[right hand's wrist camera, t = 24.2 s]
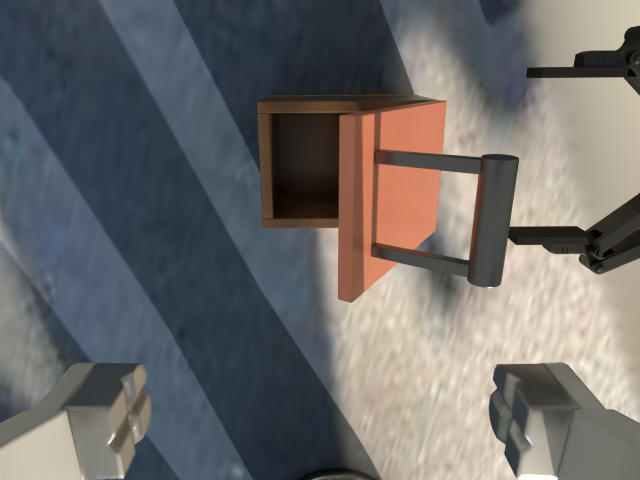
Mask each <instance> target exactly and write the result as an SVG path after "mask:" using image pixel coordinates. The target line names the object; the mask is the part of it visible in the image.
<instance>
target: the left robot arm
mask: <svg viewBox="0 0 640 480" xmlns="http://www.w3.org/2000/svg"><path fill="white" fill-rule="evenodd" d="M624 39H625V41H624V43H623V45H622V46H621V47H620V48H619V49H618V50H616V51H584V52H580V53H578V54H576V56H575V61H574V67H538V68H527V75H526V78H587V77H623V78H624V79H625V80H626V81H627V82H628V83H629V84H630V85H631V86H632V87H633V89H634V90H635V91H636V92H637V93H638V94H639V95H640V26H636V27H631V28H629V29H628V30H627V31H626V33H625V35H624ZM639 228H640V193H639V194H638V195H636V196H635V197H634V198H632V199H631V200H629V201H628V202H626V203H625V204H624V205H622V206H621V207H619V208H618V209H616V210H615V211H613V212H612V213H611V214H609V215H608V216H606V217H605V218H603V219H602V220H601V221H599V222H598V223H596V224H595V225H593V226H592V227H590V228H589V229H588V230H586V231H584V230H582V229H580V228H579V227H577V226H547V227H509V233H508V238H509V239H510V240H511V241H512V242H513V243H515V244H516V245H543V247H544V248H545V249H546V250H548V251H549V252H551V253H553V254H580V257H579V261H580V263H582V264H583V265H584V266H586V267H587V268H588V269H590V270H591V271H593V272H594V273H595V274H599V275H600V274H603V273H605V272H608V271H610V270H613V269H615V268H617V267H620V266H622V265H624V264H627V263H629V262H632V261H634V260H636V259H639V258H640V229H639ZM637 229H638V230H637ZM299 480H375V479H373V478H371V477H369V476H367V475H365V474H362V473H359V472H356V471H351V470H344V469H330V470H323V471H318V472H315V473H312V474H309V475H307V476H305V477H303V478H301V479H299Z"/></svg>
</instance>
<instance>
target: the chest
mask: <svg viewBox="0 0 640 480" xmlns="http://www.w3.org/2000/svg"><path fill="white" fill-rule="evenodd" d="M428 101H435V99H431V98H426V97H422V96H417V95H269V96H268V97H266V98H264V99H261V100H259V101H257V121H258V140H259V160H260V180H261V199H262V218H263V228H339V127H340V115H344V114H351V113H357V112H364V111H370V110H377V109H383V108H390V107H396V106H403V105H409V104H415V103H422V102H428Z"/></svg>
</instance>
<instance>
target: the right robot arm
mask: <svg viewBox="0 0 640 480" xmlns="http://www.w3.org/2000/svg"><path fill="white" fill-rule="evenodd" d="M146 381H147V376H146V371H145V367H144V366H143V365H142V364H129V363H76V364H73V365H72V366H71V367H70V368H69V369H68V370H67V371H66V372H65V374H64V375H63V376H62V377H61V378H60V379H59V381H58V382H57V383H56V384H55V385H54V386H53V388H52V389H51V390H50V391H49V392H48V393H47V395H46V396H45V397H44V398H43V399H42V400H41V401H40V403H39V404H38V405H37V406H36V407H35V408H34V410H25V411H23V412H21V413H19V414H17V415H15V416H13V417H11V418H9V419H7V420H5V421H3V422H1V423H0V480H96V479H124V477H125V475H126V472H127V470H128V468H129V466H130V464H131V462H132V460H133V458H134V456H135V454H136V453H135V447H134V444H136V443H137V442H139V441H140V440H141V439H143V438H144V435H145V433H146V431H147V429H148V425H149V421H150V416H151V401H150V395H149V394H148V393H147V392H146V391H145V390H144V389H143V386H144V384H145V382H146ZM493 381H494V382H495V384H496V386H497V389H496V390H495V391H494V392H493V393H492V394H491V395H490V402H489V415H490V422H491V425H492V429H493V431H494V433H495V436H496V438H497V439H499V440H500V441H501V442H503V443H504V444H506V447H505V453H504V454H505V456H506V458H507V460H508V462H509V464H510V466H511V468H512V470H513V472H514V474H515V476H516V478H517V479H544V480H640V423H638V422H637V421H635V420H633V419H631V418H629V417H627V416H625V415H623V414H621V413H619V412H617V411H615V410H606V408H605V407H604V406H603V405H602V404H601V403H600V402H599V400H598V399H597V398H596V397H595V396H594V395H593V393H592V392H591V391H590V390H589V389H588V388H587V386H586V385H585V384H584V383H583V382H582V381H581V379H580V378H579V377H578V376H577V375H576V374H575V373H574V371H573V370H572V369H571V368H570V367H569V366H568V365H567V364H565V363H541V364H497V366H496V368H495V370H494V375H493Z"/></svg>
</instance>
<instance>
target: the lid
mask: <svg viewBox="0 0 640 480" xmlns="http://www.w3.org/2000/svg"><path fill="white" fill-rule="evenodd" d="M446 103H447V102H446V101H440V100H435V101H428V102H422V103H415V104H409V105H403V106H396V107H390V108H383V109H377V110H370V111H364V112H357V113H351V114H344V115H340V127H339V240H338V299H339V300H343V301H347V302H350V303H352V302H353V301H354V300H356V299H357V298H358V297H359V296H360V295H361V294H362V293H364V292H365V291H366V290H367V289H368V288H369V287H371V286H372V285H373V284H374V283H375V282H376V281H377V280H379V279H380V278H381V277H382V276H383V275H384V274H386V273H387V272H388V271H389V270H390V269H391V268H393V267H394V266H395V265H396V264H397V263H403V264H407V265H412V266H417V267H422V268H426V269H431V270H436V271H440V272H445V273H450V274H454V275H459V276H464V277H467V280H468V282H469V283H471V284H473V285H475V286H478V287H484V288H494V287H498V286H499V285H500V284H501V281H502V274H503V267H504V260H505V254H506V247H507V240H508V233H509V226H510V219H511V212H512V205H513V198H514V191H515V184H516V177H517V170H518V163H519V158H518V157H516V156H511V155H503V154H487V155H483V156H481V157H469V156H457V155H445V154H442V149H443V138H444V126H445V114H446ZM441 170H442V171H452V172H462V173H472V174H479V177H478V186H477V194H476V203H475V212H474V221H473V229H472V238H471V247H470V255H469V261H468V260H463V259H458V258H452V257H447V256H442V255H437V254H432V253H427V252H422V251H417V250H413V249H414V248H416V247H417V246H418V245H419V244H420V243H421V242H423V241H424V240H425V239H426V238H427V237H428V236H430V235H431V234H432V233H433V232H434V231H435V230H436V219H437V207H438V196H439V184H440V172H441Z"/></svg>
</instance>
